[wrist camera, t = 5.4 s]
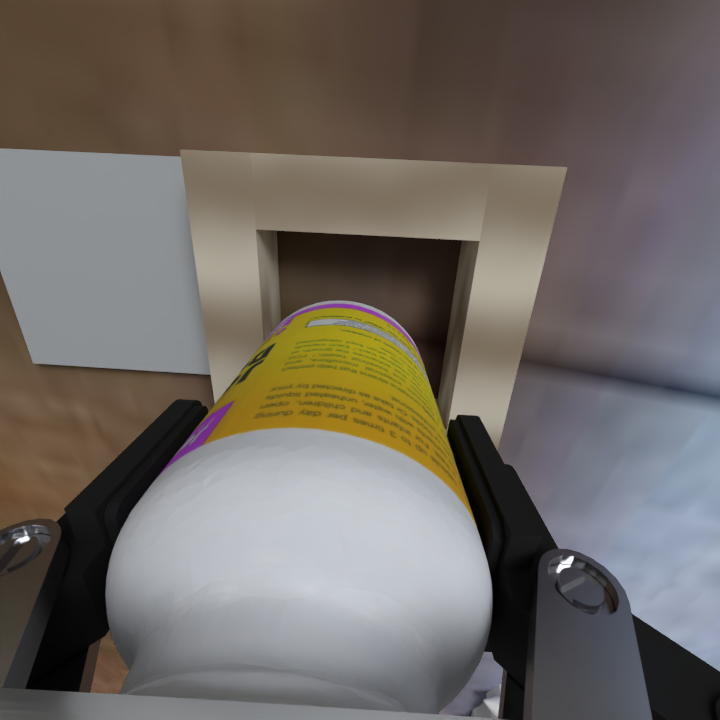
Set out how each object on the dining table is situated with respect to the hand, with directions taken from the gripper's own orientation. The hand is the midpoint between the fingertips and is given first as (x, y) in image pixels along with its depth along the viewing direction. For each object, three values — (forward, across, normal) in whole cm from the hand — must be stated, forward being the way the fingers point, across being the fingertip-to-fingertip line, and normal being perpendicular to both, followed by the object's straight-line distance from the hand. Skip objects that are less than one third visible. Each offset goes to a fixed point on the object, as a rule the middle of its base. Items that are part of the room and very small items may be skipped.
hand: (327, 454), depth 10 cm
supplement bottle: (+5, 0, 0) cm, 5 cm away
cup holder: (+12, -1, 0) cm, 12 cm away
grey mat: (+12, +14, -2) cm, 19 cm away
